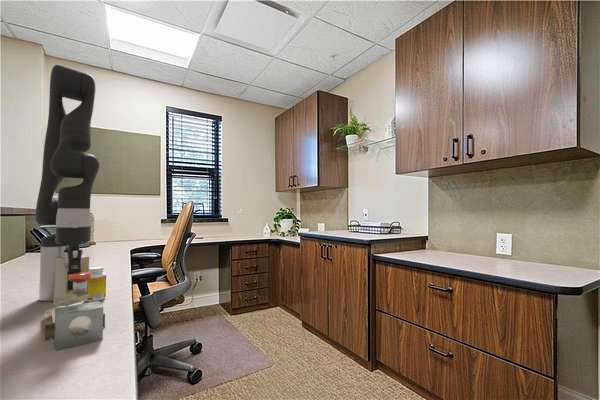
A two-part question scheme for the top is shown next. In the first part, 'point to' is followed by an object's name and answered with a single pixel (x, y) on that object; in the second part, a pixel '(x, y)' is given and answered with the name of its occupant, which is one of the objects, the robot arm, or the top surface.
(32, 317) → the top surface
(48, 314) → the rail
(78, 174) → the robot arm
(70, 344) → the cabinet
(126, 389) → the top surface
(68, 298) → the skincare box
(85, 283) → the button
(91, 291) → the supplement bottle
